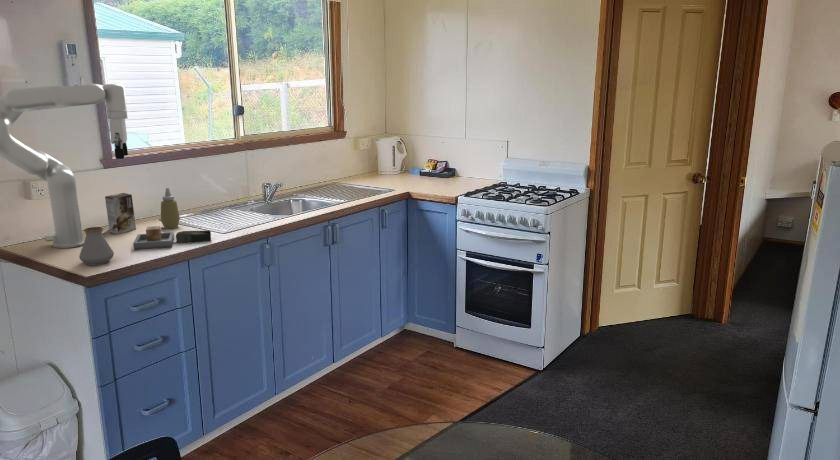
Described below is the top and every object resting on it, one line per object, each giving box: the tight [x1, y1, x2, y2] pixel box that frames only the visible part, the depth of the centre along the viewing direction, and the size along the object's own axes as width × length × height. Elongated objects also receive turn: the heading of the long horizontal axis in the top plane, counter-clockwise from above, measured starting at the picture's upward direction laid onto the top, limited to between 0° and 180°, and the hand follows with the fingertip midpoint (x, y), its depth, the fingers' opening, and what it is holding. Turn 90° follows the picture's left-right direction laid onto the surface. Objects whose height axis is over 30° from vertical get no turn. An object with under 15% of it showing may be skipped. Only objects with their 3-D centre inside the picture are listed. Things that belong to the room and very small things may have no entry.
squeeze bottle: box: [160, 187, 181, 229], centre depth 279 cm, size 8×8×18 cm
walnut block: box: [145, 225, 162, 241], centre depth 253 cm, size 5×5×6 cm
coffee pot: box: [79, 216, 134, 266], centre depth 233 cm, size 21×12×15 cm, turn 145°
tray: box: [132, 231, 175, 251], centre depth 253 cm, size 14×14×3 cm
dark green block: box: [173, 230, 212, 245], centre depth 257 cm, size 5×3×15 cm
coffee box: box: [104, 192, 137, 235], centre depth 272 cm, size 9×6×16 cm
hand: (121, 157), depth 256 cm, fingers open, 9 cm apart
